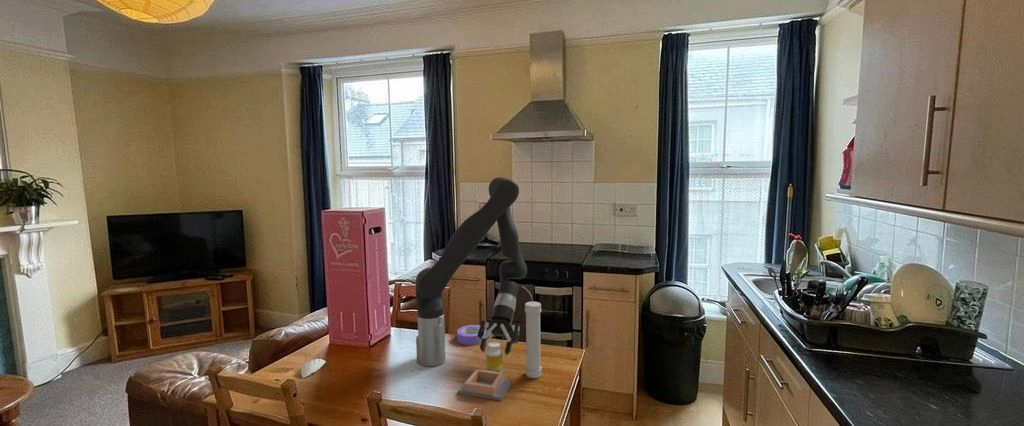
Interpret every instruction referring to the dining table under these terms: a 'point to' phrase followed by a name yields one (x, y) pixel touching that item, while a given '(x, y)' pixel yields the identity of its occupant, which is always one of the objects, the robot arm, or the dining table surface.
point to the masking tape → (469, 335)
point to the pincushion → (311, 367)
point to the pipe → (533, 339)
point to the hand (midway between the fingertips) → (494, 352)
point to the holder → (485, 385)
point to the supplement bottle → (494, 357)
